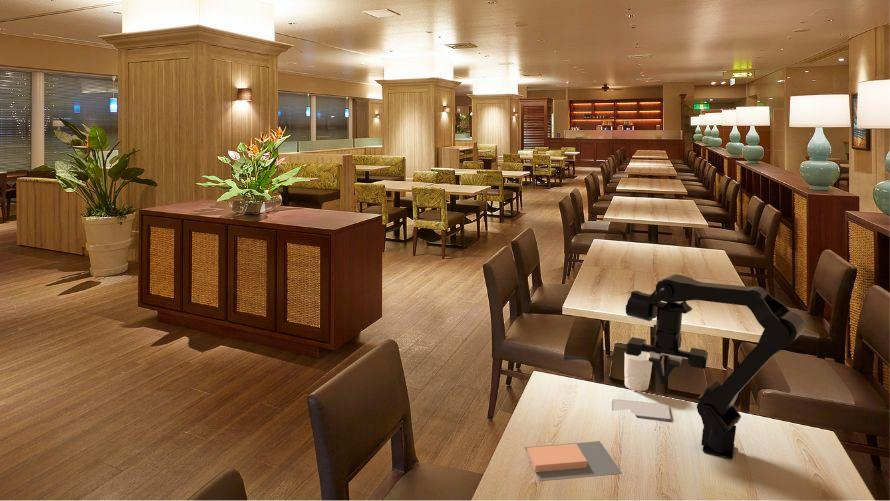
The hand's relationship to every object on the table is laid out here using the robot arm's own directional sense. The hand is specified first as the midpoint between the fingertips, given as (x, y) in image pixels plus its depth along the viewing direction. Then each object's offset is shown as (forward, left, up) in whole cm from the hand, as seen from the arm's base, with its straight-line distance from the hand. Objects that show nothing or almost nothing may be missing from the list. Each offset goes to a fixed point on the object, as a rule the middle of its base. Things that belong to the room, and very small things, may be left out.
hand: (663, 383), depth 142 cm
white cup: (+10, -20, -12) cm, 26 cm away
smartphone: (+6, -6, -13) cm, 15 cm away
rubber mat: (+15, +26, -12) cm, 32 cm away
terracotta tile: (+13, +25, -11) cm, 30 cm away
